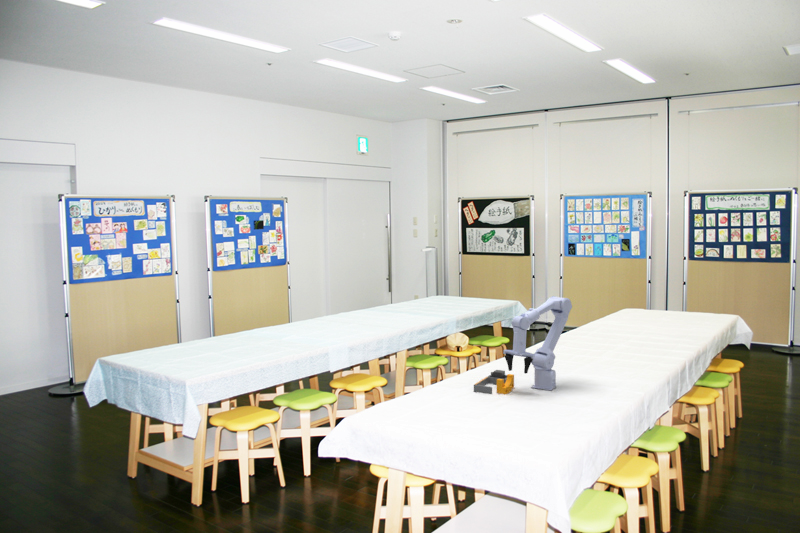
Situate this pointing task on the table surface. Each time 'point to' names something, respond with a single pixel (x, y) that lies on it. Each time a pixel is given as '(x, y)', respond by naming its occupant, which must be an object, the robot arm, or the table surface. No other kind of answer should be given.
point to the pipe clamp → (507, 386)
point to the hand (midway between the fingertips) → (518, 371)
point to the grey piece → (489, 381)
